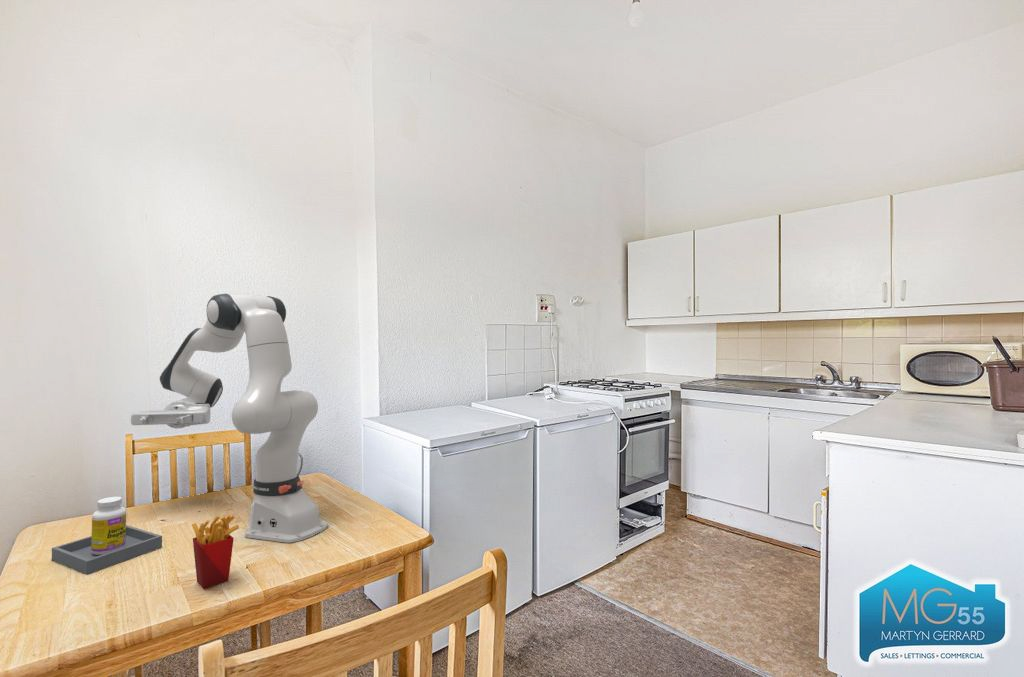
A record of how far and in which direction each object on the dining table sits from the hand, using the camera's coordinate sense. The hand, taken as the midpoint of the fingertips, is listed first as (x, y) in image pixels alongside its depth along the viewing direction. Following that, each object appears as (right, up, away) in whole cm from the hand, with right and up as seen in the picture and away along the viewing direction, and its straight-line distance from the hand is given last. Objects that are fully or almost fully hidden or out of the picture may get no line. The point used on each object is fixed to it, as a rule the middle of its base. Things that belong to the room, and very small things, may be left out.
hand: (161, 421), depth 142 cm
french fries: (+38, -30, -35) cm, 60 cm away
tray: (+2, -30, -21) cm, 37 cm away
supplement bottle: (+2, -29, -21) cm, 36 cm away
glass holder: (+23, -30, +31) cm, 49 cm away
